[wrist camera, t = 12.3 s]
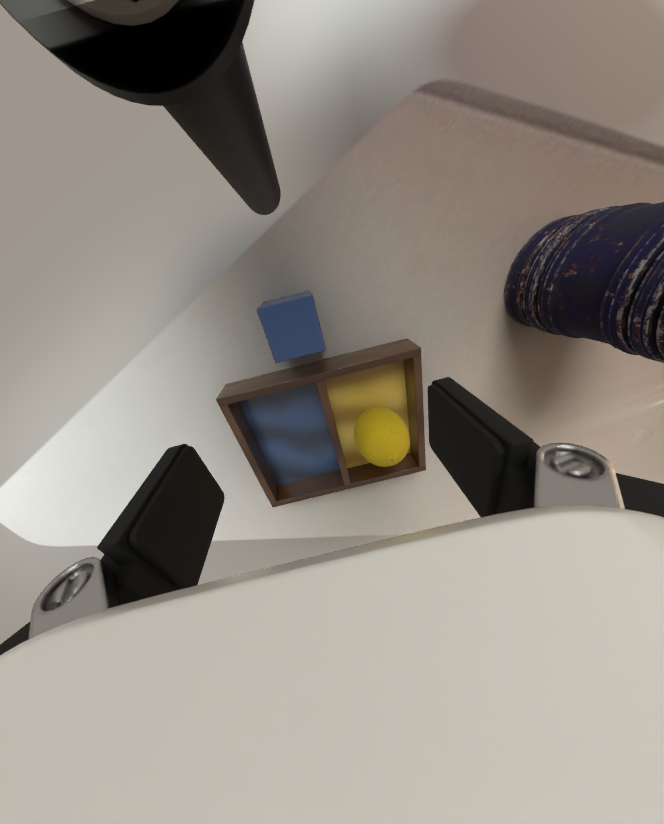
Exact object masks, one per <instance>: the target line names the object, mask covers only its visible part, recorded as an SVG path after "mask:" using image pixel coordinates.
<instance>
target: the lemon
mask: <svg viewBox="0 0 664 824" xmlns="http://www.w3.org/2000/svg"><path fill="white" fill-rule="evenodd" d="M354 439H355V442H356V445H357V447H358V450H359V451H360V453H361V454H362V455H363V456H364V458H365V459H366V460H367V461H369V462H370V463H372V464H374V465H377V466H382V467H388V466H392V465H395V464H397V463H399V462H400V461H401V460H402V459H403V458H404V457H405V456H406V454H407V452H408V450H409V445H410V440H409V433H408V430H407V427H406V425H405V423H404V421H403V420H402V419H401V418H400V417H399V415H398V414H397V413H395V412H394V411H392V410H390V409H388V408H384V407H374V408H370V409H368V410H366V411H365V412H363V413H362V414H361V415H360V416H359V417H358V419H357V421H356V423H355V428H354Z"/></svg>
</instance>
